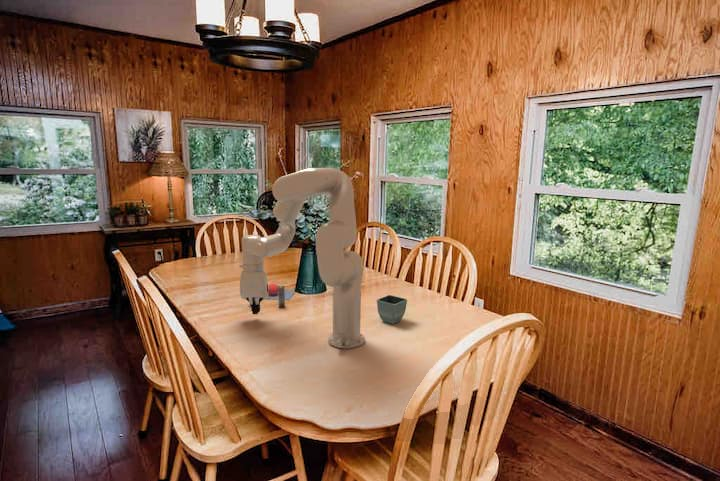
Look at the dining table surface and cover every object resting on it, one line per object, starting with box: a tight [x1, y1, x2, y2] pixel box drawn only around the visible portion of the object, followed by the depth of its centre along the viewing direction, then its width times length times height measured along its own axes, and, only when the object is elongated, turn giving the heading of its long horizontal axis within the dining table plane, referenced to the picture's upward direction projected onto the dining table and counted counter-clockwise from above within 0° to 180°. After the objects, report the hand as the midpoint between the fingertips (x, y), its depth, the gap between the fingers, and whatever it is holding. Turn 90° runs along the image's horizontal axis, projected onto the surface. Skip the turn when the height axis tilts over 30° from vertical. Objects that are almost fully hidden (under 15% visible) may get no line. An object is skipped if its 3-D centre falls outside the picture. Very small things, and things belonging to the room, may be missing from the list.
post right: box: [278, 285, 286, 309], centre depth 174 cm, size 3×3×9 cm
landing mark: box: [267, 288, 296, 301], centre depth 191 cm, size 14×14×1 cm
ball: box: [268, 283, 279, 295], centre depth 189 cm, size 6×6×6 cm
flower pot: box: [376, 294, 408, 325], centre depth 160 cm, size 9×9×9 cm
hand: (256, 313), depth 160 cm, fingers closed
